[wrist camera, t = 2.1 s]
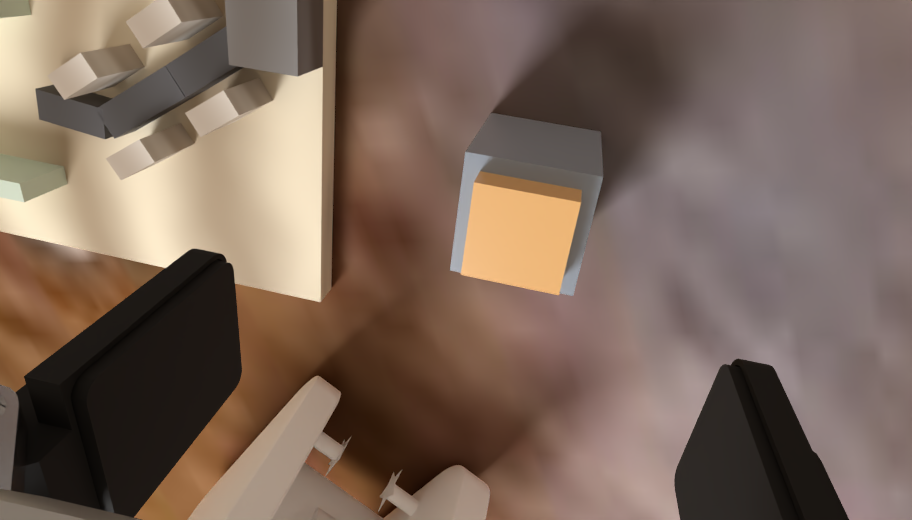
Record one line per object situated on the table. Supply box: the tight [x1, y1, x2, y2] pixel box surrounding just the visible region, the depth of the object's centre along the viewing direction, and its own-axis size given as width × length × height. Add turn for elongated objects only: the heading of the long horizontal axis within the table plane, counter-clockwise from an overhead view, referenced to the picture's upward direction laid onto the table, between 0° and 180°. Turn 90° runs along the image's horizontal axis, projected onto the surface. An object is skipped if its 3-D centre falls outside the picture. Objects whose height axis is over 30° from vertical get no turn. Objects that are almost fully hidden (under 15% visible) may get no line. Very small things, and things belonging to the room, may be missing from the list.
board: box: [0, 0, 337, 302], centre depth 23 cm, size 20×14×4 cm
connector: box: [450, 113, 603, 296], centre depth 19 cm, size 4×4×6 cm
